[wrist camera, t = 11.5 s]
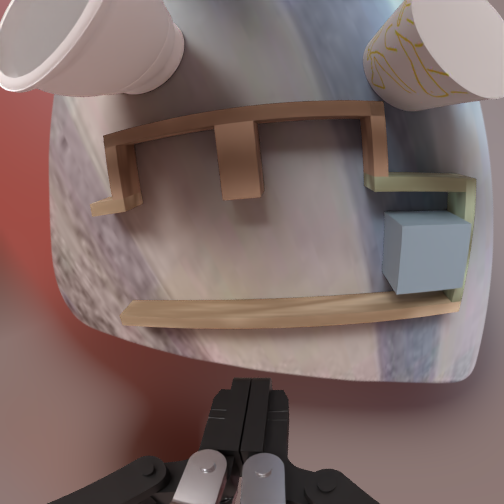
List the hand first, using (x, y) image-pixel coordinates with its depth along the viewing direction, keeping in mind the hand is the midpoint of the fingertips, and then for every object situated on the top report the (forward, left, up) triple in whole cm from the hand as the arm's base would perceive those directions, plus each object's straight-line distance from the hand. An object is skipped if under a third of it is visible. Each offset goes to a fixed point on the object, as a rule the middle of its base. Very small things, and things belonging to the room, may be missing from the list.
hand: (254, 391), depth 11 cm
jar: (-20, -11, -18) cm, 29 cm away
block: (0, +14, -18) cm, 23 cm away
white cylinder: (-16, +13, -18) cm, 28 cm away
